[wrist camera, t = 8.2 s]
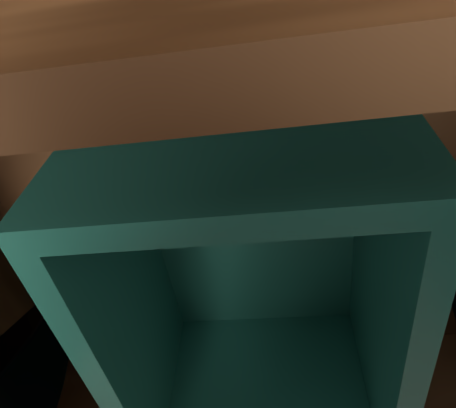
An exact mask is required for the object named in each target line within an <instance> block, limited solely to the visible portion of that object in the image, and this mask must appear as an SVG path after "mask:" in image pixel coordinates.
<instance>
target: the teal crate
mask: <svg viewBox="0 0 456 408" xmlns="http://www.w3.org/2000/svg"><path fill="white" fill-rule="evenodd" d="M0 248H1V250H2V252H3V253H4V255H5V256H6V258H7V260H8V261H9V263H10V264H11V266H12V268H13V269H14V271H15V272H16V274H17V276H18V277H19V279H20V280H21V282H22V284H23V285H24V287H25V288H26V290H27V292H28V293H29V295H30V297H31V298H32V300H33V301H34V303H35V305H36V306H37V308H38V309H39V311H40V313H41V314H42V316H43V317H44V319H45V321H46V322H47V324H48V325H49V327H50V329H51V330H52V332H53V333H54V335H55V337H56V338H57V340H58V342H59V343H60V345H61V346H62V348H63V350H64V351H65V353H66V354H67V356H68V358H69V359H70V361H71V362H72V364H73V366H74V367H75V369H76V370H77V372H78V374H79V375H80V377H81V378H82V380H83V382H84V383H85V385H86V387H87V388H88V390H89V391H90V393H91V395H92V396H93V398H94V399H95V401H96V403H97V404H98V406H99V407H100V408H424V405H425V402H426V398H427V394H428V391H429V387H430V383H431V380H432V376H433V372H434V369H435V365H436V361H437V358H438V354H439V351H440V347H441V343H442V340H443V336H444V332H445V329H446V325H447V321H448V318H449V314H450V310H451V307H452V303H453V299H454V296H455V292H456V161H455V159H454V158H453V157H452V155H451V154H450V152H449V151H448V150H447V148H446V147H445V146H444V144H443V143H442V141H441V140H440V139H439V137H438V136H437V134H436V133H435V132H434V130H433V129H432V127H431V126H430V125H429V123H428V122H427V120H426V119H425V118H424V116H423V115H422V114H417V115H407V116H397V117H387V118H377V119H367V120H357V121H347V122H338V123H328V124H318V125H308V126H298V127H288V128H278V129H268V130H258V131H248V132H238V133H228V134H218V135H208V136H198V137H188V138H178V139H168V140H158V141H149V142H139V143H129V144H119V145H109V146H99V147H89V148H79V149H69V150H59V151H53V152H52V154H51V155H50V156H49V158H48V159H47V160H46V162H45V163H44V164H43V166H42V167H41V168H40V170H39V171H38V172H37V174H36V175H35V176H34V177H33V179H32V180H31V181H30V183H29V184H28V185H27V187H26V188H25V189H24V191H23V192H22V193H21V195H20V196H19V197H18V199H17V200H16V201H15V203H14V204H13V205H12V207H11V208H10V209H9V211H8V212H7V213H6V215H5V216H4V217H3V219H2V220H1V221H0Z"/></svg>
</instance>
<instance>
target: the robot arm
mask: <svg viewBox="0 0 456 408" xmlns="http://www.w3.org/2000/svg"><path fill="white" fill-rule="evenodd" d="M452 310H453V313H454V317H455V320H456V292H455V296H454V299H453V303H452ZM68 361H69V358H68V356H67V354H66V353H65V351H64V350H63V348H62V346H61V345H60V343H59V342H58V340H57V338H56V337H55V335H54V333H53V332H52V330H51V329H50V327H49V325H48V324H47V322H46V321H45V319H44V317H43V316H42V314H41V313H40V311H39V309H38V308H37V306H36V305H34V306H33V307H32V308H31V309H30V310H29V311H28V312H27V313H25V314H24V315H23V316H22V317H21V318H20V319H19V320H18V321H17V322H15V323H14V324H13V325H12V326H11V327H10V328H9V329H8V330H6V331H5V332H4V333H3V334H2V335H1V336H0V408H57V405H58V402H59V399H60V396H61V392H62V389H63V385H64V380H65V376H66V371H67V366H68Z"/></svg>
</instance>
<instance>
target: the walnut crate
mask: <svg viewBox="0 0 456 408" xmlns="http://www.w3.org/2000/svg"><path fill="white" fill-rule="evenodd" d="M417 114H422V115H423V116H424V118H425V119H426V120H427V122H428V123H429V125H430V126H431V127H432V129H433V130H434V132H435V133H436V134H437V136H438V137H439V139H440V140H441V141H442V143H443V144H444V146H445V147H446V148H447V150H448V151H449V152H450V154H451V155H452V157H453V158H454V159H455V161H456V0H0V221H1V220H2V219H3V217H4V216H5V215H6V213H7V212H8V211H9V209H10V208H11V207H12V205H13V204H14V203H15V201H16V200H17V199H18V197H19V196H20V195H21V193H22V192H23V191H24V189H25V188H26V187H27V185H28V184H29V183H30V181H31V180H32V179H33V177H34V176H35V175H36V174H37V172H38V171H39V170H40V168H41V167H42V166H43V164H44V163H45V162H46V160H47V159H48V158H49V156H50V155H51V154H52V152H53V151H59V150H69V149H79V148H89V147H99V146H109V145H119V144H129V143H139V142H149V141H158V140H168V139H178V138H188V137H198V136H208V135H218V134H228V133H238V132H248V131H258V130H268V129H278V128H288V127H298V126H308V125H318V124H328V123H338V122H347V121H357V120H367V119H377V118H387V117H397V116H407V115H417ZM34 305H35V303H34V301H33V300H32V298H31V297H30V295H29V293H28V292H27V290H26V288H25V287H24V285H23V284H22V282H21V280H20V279H19V277H18V276H17V274H16V272H15V271H14V269H13V268H12V266H11V264H10V263H9V261H8V260H7V258H6V256H5V255H4V253H3V252H2V250H1V248H0V336H1V335H2V334H3V333H4V332H5V331H6V330H8V329H9V328H10V327H11V326H12V325H13V324H14V323H15V322H17V321H18V320H19V319H20V318H21V317H22V316H23V315H24V314H25V313H27V312H28V311H29V310H30V309H31V308H32V307H33V306H34ZM57 408H100V407H99V406H98V404H97V403H96V401H95V399H94V398H93V396H92V395H91V393H90V391H89V390H88V388H87V387H86V385H85V383H84V382H83V380H82V378H81V377H80V375H79V374H78V372H77V370H76V369H75V367H74V366H73V364H72V362H71V361H70V359H69V361H68V366H67V371H66V376H65V380H64V385H63V389H62V392H61V396H60V399H59V402H58V405H57ZM424 408H456V320H455V317H454V313H453V310H452V307H451V310H450V314H449V318H448V321H447V325H446V329H445V332H444V336H443V340H442V343H441V347H440V351H439V354H438V358H437V361H436V365H435V369H434V372H433V376H432V380H431V383H430V387H429V391H428V394H427V398H426V402H425V405H424Z"/></svg>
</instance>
